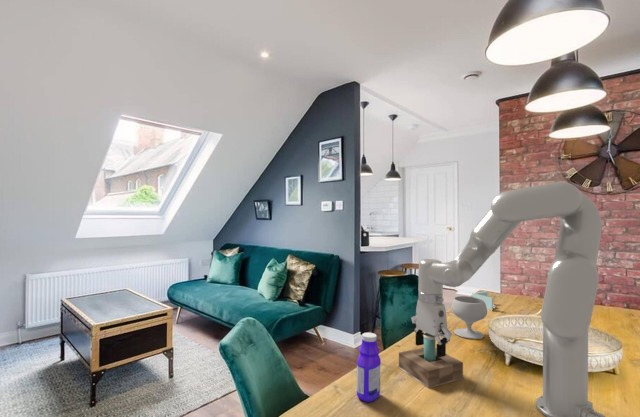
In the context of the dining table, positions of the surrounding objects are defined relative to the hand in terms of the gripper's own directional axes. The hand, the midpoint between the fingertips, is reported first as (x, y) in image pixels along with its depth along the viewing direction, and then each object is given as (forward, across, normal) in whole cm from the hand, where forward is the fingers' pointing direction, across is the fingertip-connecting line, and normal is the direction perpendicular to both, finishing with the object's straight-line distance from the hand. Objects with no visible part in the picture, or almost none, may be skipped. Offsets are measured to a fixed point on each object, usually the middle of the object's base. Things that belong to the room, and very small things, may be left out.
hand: (430, 350), depth 109 cm
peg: (+7, 0, 0) cm, 7 cm away
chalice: (+7, +20, -40) cm, 45 cm away
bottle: (+7, -4, +26) cm, 27 cm away
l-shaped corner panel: (+8, +46, -85) cm, 97 cm away
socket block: (+7, 0, 0) cm, 7 cm away
